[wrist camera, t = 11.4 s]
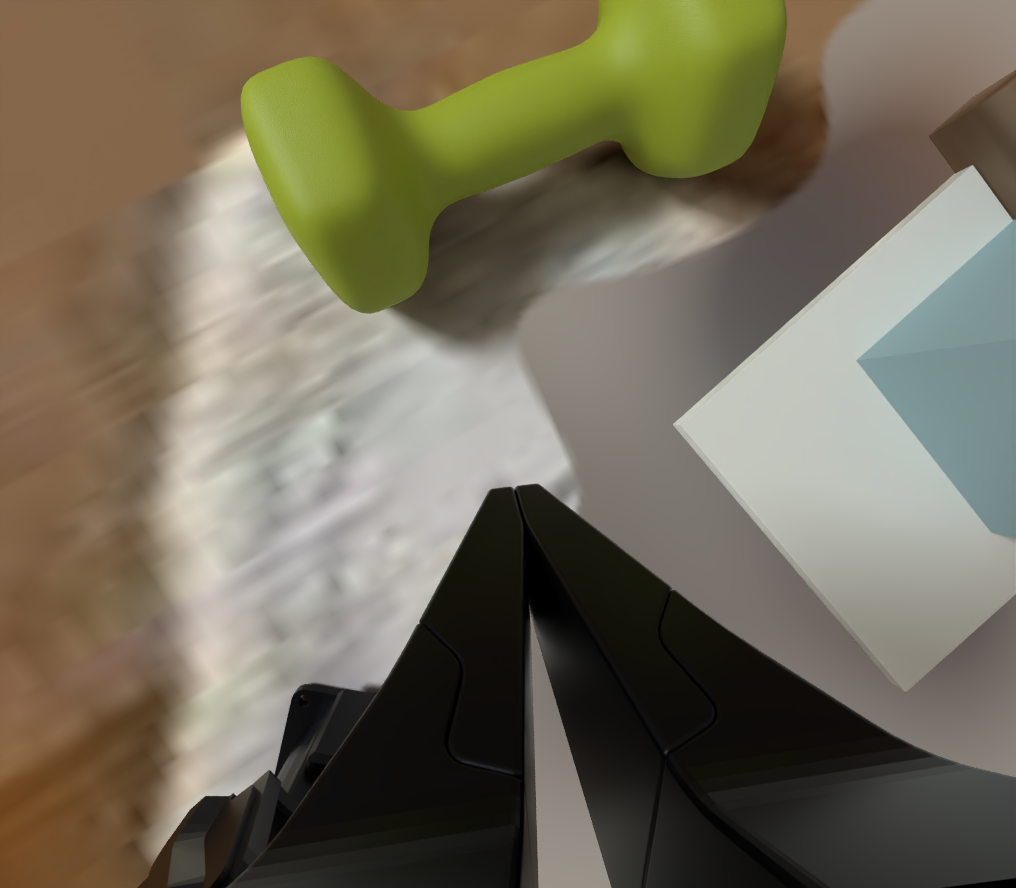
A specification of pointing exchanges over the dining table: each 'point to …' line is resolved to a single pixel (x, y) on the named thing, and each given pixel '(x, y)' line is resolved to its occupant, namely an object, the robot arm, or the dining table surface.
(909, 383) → the block
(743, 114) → the dumbbell
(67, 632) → the dining table surface
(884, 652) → the plate
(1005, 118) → the board
